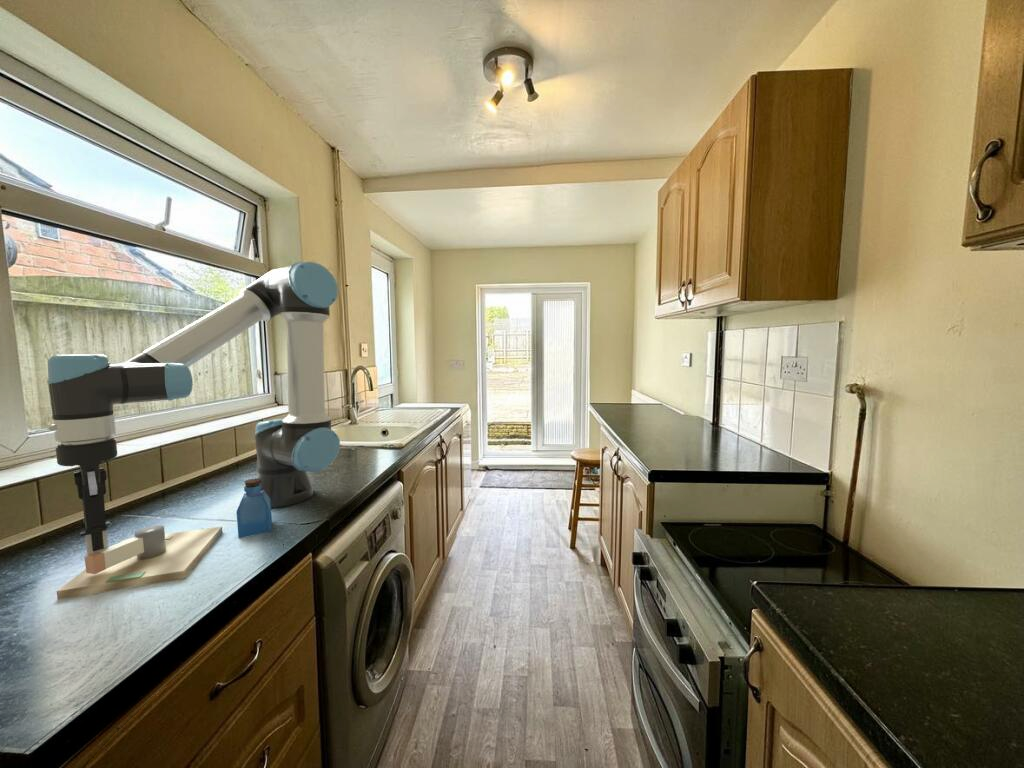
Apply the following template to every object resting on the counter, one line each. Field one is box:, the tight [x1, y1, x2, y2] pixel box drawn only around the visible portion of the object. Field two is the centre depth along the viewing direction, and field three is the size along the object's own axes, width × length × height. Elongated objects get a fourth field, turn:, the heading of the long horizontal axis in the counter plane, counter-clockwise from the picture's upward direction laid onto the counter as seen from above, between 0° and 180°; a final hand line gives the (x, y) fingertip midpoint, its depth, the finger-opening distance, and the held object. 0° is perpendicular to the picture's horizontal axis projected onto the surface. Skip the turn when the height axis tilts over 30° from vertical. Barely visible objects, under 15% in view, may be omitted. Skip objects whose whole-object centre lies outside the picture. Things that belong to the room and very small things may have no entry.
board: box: [56, 526, 223, 600], centre depth 81 cm, size 18×20×2 cm
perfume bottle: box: [236, 477, 273, 539], centre depth 94 cm, size 6×6×12 cm
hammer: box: [84, 524, 166, 574], centre depth 77 cm, size 12×4×5 cm, turn 167°
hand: (99, 564), depth 74 cm, fingers closed
